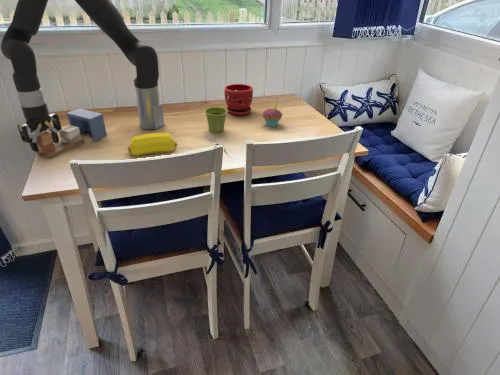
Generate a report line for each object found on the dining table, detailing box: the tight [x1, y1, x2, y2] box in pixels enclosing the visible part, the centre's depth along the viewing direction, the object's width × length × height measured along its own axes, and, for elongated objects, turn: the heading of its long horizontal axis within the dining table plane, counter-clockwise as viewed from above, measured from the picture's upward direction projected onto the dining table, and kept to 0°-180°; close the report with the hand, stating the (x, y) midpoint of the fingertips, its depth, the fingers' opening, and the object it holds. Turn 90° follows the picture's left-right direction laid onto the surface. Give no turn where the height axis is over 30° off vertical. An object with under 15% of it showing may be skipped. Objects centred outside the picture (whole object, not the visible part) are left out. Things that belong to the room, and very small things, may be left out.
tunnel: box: [66, 108, 108, 142], centre depth 143 cm, size 12×7×9 cm, turn 64°
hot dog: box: [127, 132, 178, 157], centre depth 134 cm, size 18×7×8 cm
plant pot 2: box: [224, 83, 254, 116], centre depth 169 cm, size 13×13×12 cm
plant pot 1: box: [204, 106, 229, 134], centre depth 150 cm, size 9×9×9 cm
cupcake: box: [262, 99, 283, 128], centre depth 156 cm, size 9×8×12 cm
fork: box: [206, 134, 227, 152], centre depth 138 cm, size 3×24×2 cm, turn 31°
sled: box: [36, 124, 85, 160], centre depth 133 cm, size 7×15×8 cm, turn 154°
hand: (46, 146), depth 129 cm, fingers open, 7 cm apart
